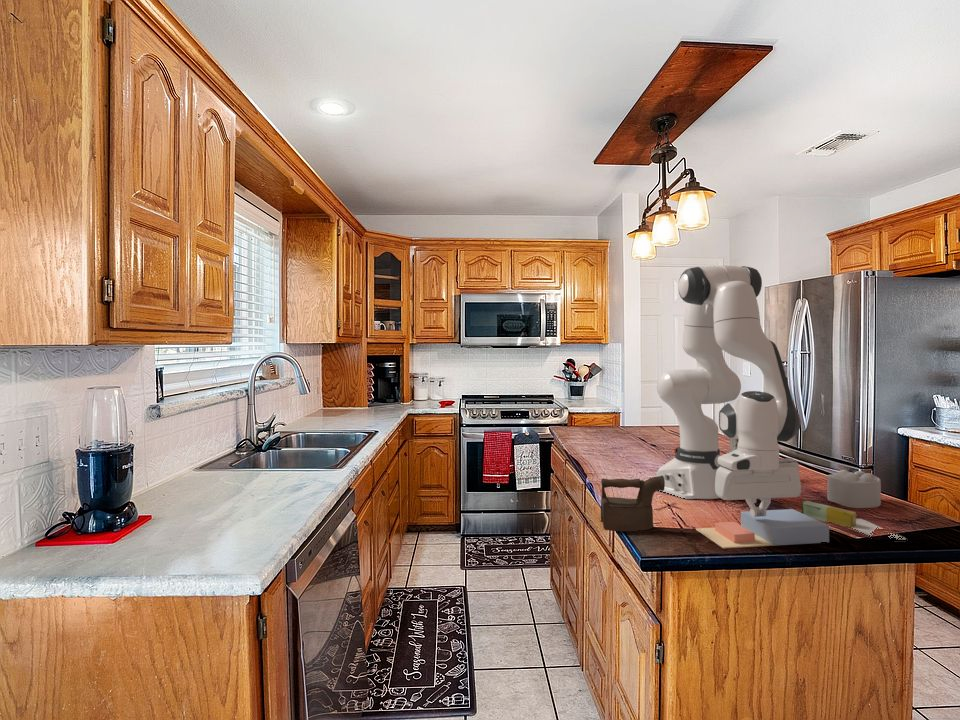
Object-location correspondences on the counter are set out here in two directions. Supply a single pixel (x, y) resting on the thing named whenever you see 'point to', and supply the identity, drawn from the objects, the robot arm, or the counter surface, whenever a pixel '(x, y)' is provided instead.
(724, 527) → the salmon pink block
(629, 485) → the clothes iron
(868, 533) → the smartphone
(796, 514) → the grey flat block
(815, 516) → the medication box
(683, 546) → the counter surface
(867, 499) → the lumpy-topped squat cylinder
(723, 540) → the mat
